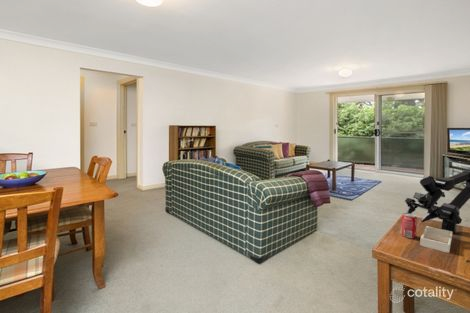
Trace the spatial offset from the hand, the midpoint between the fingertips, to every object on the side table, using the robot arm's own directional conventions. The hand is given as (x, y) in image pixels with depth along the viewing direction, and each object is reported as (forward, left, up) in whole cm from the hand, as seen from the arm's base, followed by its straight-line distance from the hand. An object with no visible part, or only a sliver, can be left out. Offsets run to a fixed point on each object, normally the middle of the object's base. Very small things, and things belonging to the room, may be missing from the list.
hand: (413, 218), depth 136 cm
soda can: (+3, 0, -10) cm, 10 cm away
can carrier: (-5, +9, -10) cm, 14 cm away
